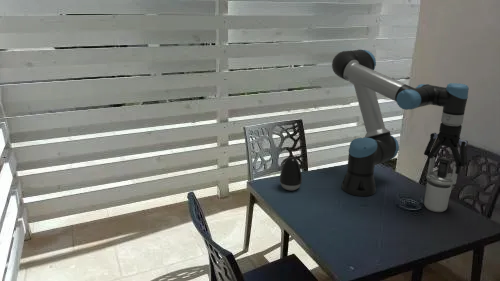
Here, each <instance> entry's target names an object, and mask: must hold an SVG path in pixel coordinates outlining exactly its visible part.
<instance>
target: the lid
mask: <svg viewBox="0 0 500 281" xmlns="http://www.w3.org/2000/svg"><path fill="white" fill-rule="evenodd" d="M438 162H439V163H438V168H437V171H436V170H435V171H434V170H433V172H431V173H428V172H427V173H426V180H427V182H428V181H430V182H432V183H435V184H438V185H444V186H451V185H452V186H454V185H456V184H457V179H456V180H455V181H451V179H452V174H450V173H448V169H449V166H450V163H451V159H450V158H447V157H439V158H438Z"/></svg>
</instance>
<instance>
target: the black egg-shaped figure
mask: <svg viewBox="0 0 500 281" xmlns="http://www.w3.org/2000/svg"><path fill="white" fill-rule="evenodd" d="M302 176H303V175H302V170H301V166H300V164H299V161H298V156H297V155H295V156H294V157H293V156H289V157H287V159H285V161H284V163H283V165H282V167H281V170H280V175H279V183H280V185H281V187H282V188H283V189H284V190H287V191H296V190H297V189H299V188H300V187H301V184H302V182H303V177H302Z"/></svg>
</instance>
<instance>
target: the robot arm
mask: <svg viewBox="0 0 500 281" xmlns="http://www.w3.org/2000/svg"><path fill="white" fill-rule="evenodd" d="M376 66H377V61H376V58H375V55H374V54H373V53H372V52H371V51H370V50H366V49H355V50H343V51H340V52H337V54H335V56H334V57H333V59H332V62H331V68H332V71H333V73H334V74H335V75H336V76H337V77H339V78H341V79H342V80H344V81H348V82H349V83H350V84H353V87H354V91H355V94H356V97H357V101H358V105H359V109H360V113H361V117H362V120H363V124H364V129H365V132H366V133H365V136H364V137H358V138H355V139H352V140H351V142H350V144H349V148H348V158H347V159H348V160H347V171H346V174H345V175H344V178H343V180H342V182H341V189H342V190H343V191H344V192H345V193H347V194H350V195H353V196H357V197H358V196H359V197H369V196H372V195H374V194H375V193H376V191H377V185H376V181H375V176H374V175H375V174H374V173H375V166H377V165H379V164H380V165H381V164H382V163H387V162H390V161H391V160H392V159H394V158H396V156H397V155H398V153H399V151H400V150H399V149H400V146H399V141H398V139H397V138H396V137H394V136H393V135H391V131H390V130H389V129H388V128H386V127H385V122H384V119H383V115H382V111H381V108H380V107H381V106H380V104H379V99H378V97H377V93H378V95H382V96H384V97H385V98H388V99H390V100H392V101H394V102H396V104H397V105H398V107H399V108H400V109H401V110H404V111H405V110H414V109H417V108H420V107H421V108H422V107H427V106H430V105H431V106H438V107H442V114H441V118H440V119H441V120H440V125H439V132H438V133H436V132H433V133H430V135H429V136H430V138H429V141H428V143H427V146H426V148H425V149H424V152H423V154H424V155H425V156H426V157H427V160H426V161H427V163H426V165H428V169H427V174H428V173H431V172H434V166H435V163H436V162H435V161H436V157H435V155H436V154H437V152H438V151H439V150H440V149H441V148H442V147H446V148H449V149H450V150H451V152H452V156H453V160H454V163H455V165H453V169H452V174H451V175H452V179H451V181H455V180H456V181H457V178H458V175H459V174H460V173H461V171H462V167H466V166H467V165H468V151H467V149H468V148H467V147H468V142H469V141H468V140H463V139H461V132H462V128H463V123H464V118H465V117H464V116H465V111H466V106H467V102H468V98H469V86H468V85H467V84H465V83H456V82H451V83H450V82H449V83H448V84H447V86H446V87H443V86H439V85H438V86H437V85H432V84H428V83H427V84H425V83H420V84H418V85H417V86H416V87H413V86H410V85H408V84H406V83H404V82H401V81H399V80H396V79H394V78H393V77H390V76H387V75H386V74H382V73H380V72H378V71H376V70H375V69H376ZM436 140H439V141H438V142H437V143H436V145H435V142H436ZM458 144H459V146H460V147H459V146H458ZM434 145H435V146H434ZM433 147H434V148H433ZM459 152H460V153H459Z"/></svg>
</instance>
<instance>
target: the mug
mask: <svg viewBox="0 0 500 281" xmlns="http://www.w3.org/2000/svg"><path fill="white" fill-rule="evenodd" d="M452 187H453V185H451V186H444V185H438V184H435V183H432V182H430V181H428V180H427V182H426V188H425V194H424V201H423V204H424V207H425V208H426V209H427V210H428V211H431V212H435V213H443V212H445V211H447V209H448V205H449V201H450V196H451V192H452V189H453V188H452Z"/></svg>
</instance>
